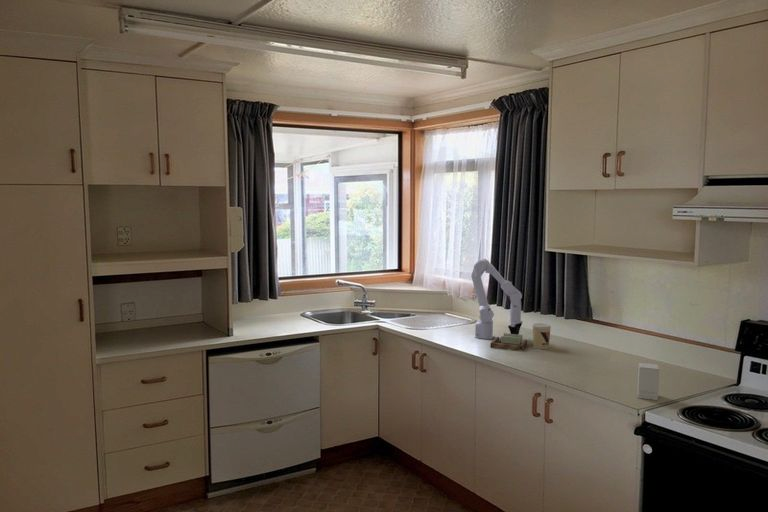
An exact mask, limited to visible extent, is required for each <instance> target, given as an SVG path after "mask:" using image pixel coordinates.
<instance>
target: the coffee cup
mask: <svg viewBox="0 0 768 512" xmlns="http://www.w3.org/2000/svg"><path fill="white" fill-rule="evenodd" d="M551 328H552V327H551V324H547V323H534V324H533V323H532V341H533V342H532V344H533V348H534V347H535V348H534V349H536V348H538V350H548V349H549V347H550V338H551ZM547 348H548V349H547Z"/></svg>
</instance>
